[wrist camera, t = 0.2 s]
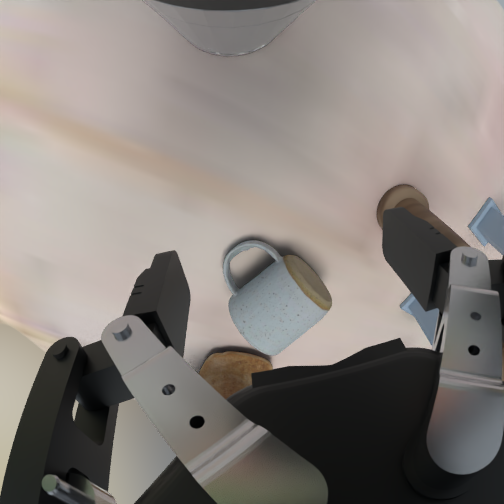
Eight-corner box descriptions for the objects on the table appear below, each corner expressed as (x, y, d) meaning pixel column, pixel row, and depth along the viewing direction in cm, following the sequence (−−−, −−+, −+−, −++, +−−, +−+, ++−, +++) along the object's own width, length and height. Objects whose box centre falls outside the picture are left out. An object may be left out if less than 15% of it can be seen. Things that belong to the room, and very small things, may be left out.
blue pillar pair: (489, 197, 30) (558, 250, 19) (502, 217, 32) (563, 269, 20) (399, 305, 38) (442, 381, 26) (418, 317, 39) (458, 386, 28)
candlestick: (377, 186, 29) (529, 348, 10) (424, 182, 29) (576, 318, 10) (375, 237, 32) (487, 408, 13) (419, 230, 32) (538, 377, 13)
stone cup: (192, 336, 38) (184, 444, 25) (281, 351, 40) (298, 452, 27) (176, 396, 45) (170, 480, 32) (247, 406, 47) (253, 487, 35)
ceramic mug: (326, 276, 34) (346, 323, 28) (274, 318, 37) (282, 368, 30) (259, 216, 30) (267, 258, 23) (205, 269, 33) (199, 318, 26)
